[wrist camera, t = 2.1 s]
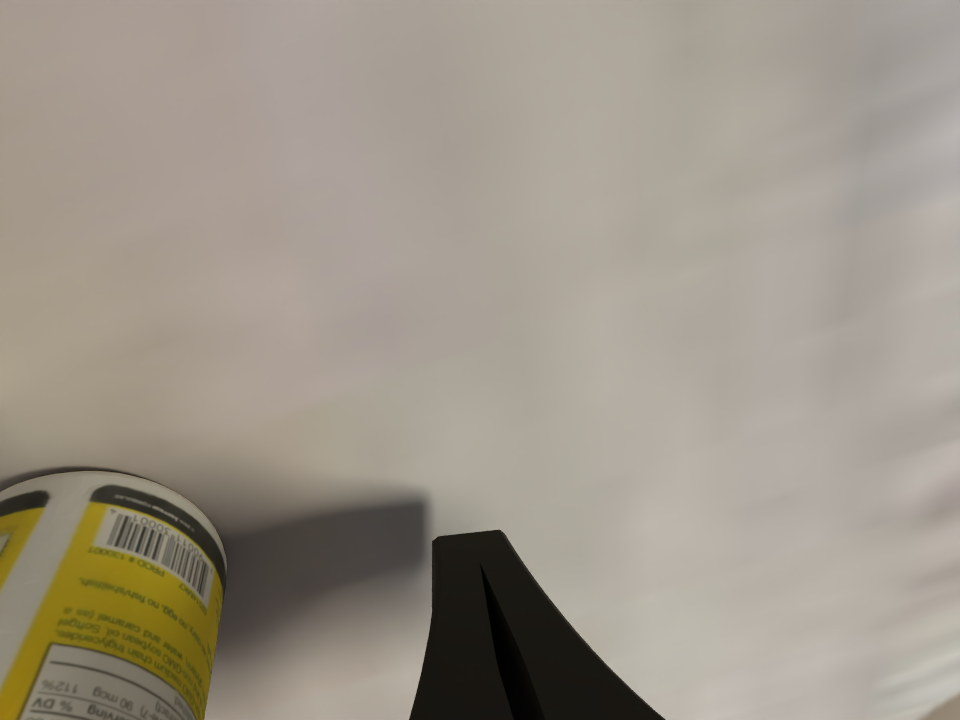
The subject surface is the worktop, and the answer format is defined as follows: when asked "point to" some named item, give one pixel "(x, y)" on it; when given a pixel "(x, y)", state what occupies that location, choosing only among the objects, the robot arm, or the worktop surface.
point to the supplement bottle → (106, 600)
